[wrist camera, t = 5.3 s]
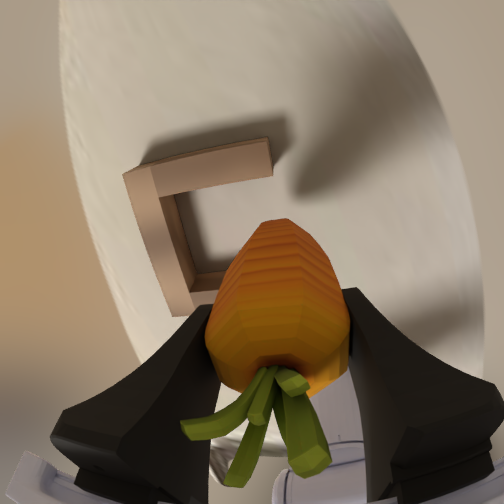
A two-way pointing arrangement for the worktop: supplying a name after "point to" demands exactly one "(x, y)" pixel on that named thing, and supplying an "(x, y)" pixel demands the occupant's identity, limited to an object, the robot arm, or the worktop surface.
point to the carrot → (276, 347)
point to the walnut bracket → (168, 220)
